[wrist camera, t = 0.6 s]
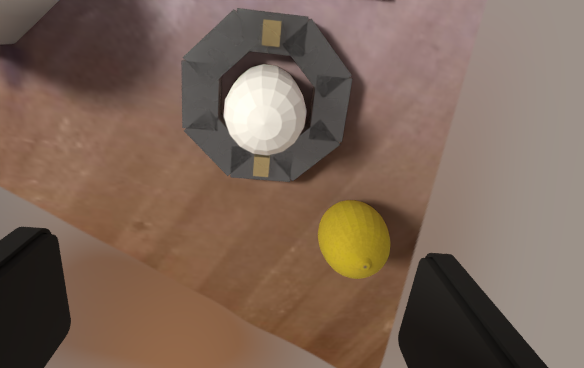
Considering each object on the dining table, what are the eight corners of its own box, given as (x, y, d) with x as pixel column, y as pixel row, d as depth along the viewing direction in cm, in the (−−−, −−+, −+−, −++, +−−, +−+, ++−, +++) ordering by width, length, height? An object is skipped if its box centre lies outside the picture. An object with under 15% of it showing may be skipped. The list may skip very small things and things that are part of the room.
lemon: (386, 210, 32) (420, 262, 25) (343, 250, 33) (364, 311, 26) (343, 173, 30) (366, 218, 23) (300, 217, 32) (309, 272, 24)
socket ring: (186, 3, 25) (178, 0, 23) (356, 23, 26) (363, 22, 24) (187, 166, 29) (181, 176, 27) (331, 177, 30) (335, 188, 28)
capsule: (299, 61, 27) (309, 72, 19) (301, 130, 29) (312, 164, 21) (228, 66, 26) (211, 78, 19) (236, 135, 28) (223, 170, 21)
